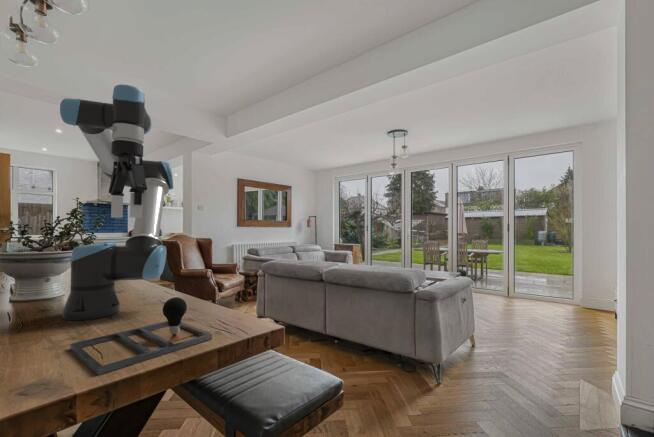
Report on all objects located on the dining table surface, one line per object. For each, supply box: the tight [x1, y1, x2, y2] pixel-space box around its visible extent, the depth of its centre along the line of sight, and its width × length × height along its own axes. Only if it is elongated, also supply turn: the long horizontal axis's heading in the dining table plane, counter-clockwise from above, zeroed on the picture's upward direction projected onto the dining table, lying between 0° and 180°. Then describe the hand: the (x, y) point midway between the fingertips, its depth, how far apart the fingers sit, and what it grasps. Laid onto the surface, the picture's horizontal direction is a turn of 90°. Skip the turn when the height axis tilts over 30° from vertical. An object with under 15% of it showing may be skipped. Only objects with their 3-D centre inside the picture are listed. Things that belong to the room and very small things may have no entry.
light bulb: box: [162, 296, 188, 335], centre depth 82 cm, size 6×6×10 cm
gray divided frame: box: [69, 320, 213, 376], centre depth 77 cm, size 20×25×1 cm
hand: (125, 217), depth 86 cm, fingers open, 13 cm apart
